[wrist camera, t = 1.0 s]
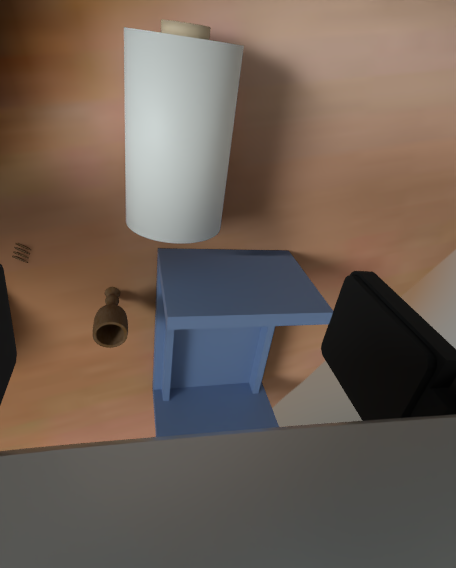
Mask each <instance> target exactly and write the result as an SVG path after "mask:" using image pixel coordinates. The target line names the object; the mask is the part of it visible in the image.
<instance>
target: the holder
mask: <svg viewBox="0 0 456 568" xmlns="http://www.w3.org/2000/svg"><path fill="white" fill-rule="evenodd" d="M332 314H333V310H332V309H331V307H330V306H329V305H328V303H327V302H326V301H325V299H324V298H323V297H322V295H321V294H320V293H319V291H318V290H317V289H316V287H315V286H314V284H313V283H312V282H311V280H310V279H309V278H308V276H307V275H306V274H305V272H304V271H303V270H302V268H301V267H300V265H299V264H298V263H297V261H296V260H295V259H294V257H293V256H292V255H291V253H290V252H289V251H282V250H223V249H163V248H158V260H157V287H156V313H155V339H154V366H153V402H154V416H155V430H156V437H163V436H175V435H186V434H198V433H211V432H223V431H236V430H248V429H261V428H274V427H279V426H278V423H277V420H276V418H275V415H274V413H273V410H272V407H271V405H270V402H269V400H268V397H267V394H266V392H265V389H264V387H263V384H262V378H263V374H264V370H265V366H266V362H267V358H268V354H269V350H270V346H271V342H272V338H273V334H274V329H275V326H291V325H319V324H329V322H330V319H331V317H332Z"/></svg>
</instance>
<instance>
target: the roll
mask: <svg viewBox="0 0 456 568" xmlns="http://www.w3.org/2000/svg"><path fill="white" fill-rule="evenodd" d="M209 38H210V27H207V26H202V25H197V24H191V23H185V22H178V21H171V20H161V33H160V32H153V31H146V30H140V29H133V28H125V27H124V80H125V175H126V224H127V226H128V227H129V228H130V229H131V230H132V231H133V232H135V233H137V234H138V235H141V236H143V237H145V238H148V239H152V240H156V241H160V242H167V243H195V242H201V241H205V240H208V239H210V238H212V237H214V236H216V235H217V234H218V233H219V231H220V227H221V219H222V211H223V203H224V196H225V188H226V180H227V172H228V165H229V157H230V149H231V141H232V134H233V126H234V118H235V111H236V103H237V95H238V87H239V80H240V72H241V64H242V56H243V49H244V46H242V45H236V44H230V43H224V42H218V41H211V40H209Z"/></svg>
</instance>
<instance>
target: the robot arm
mask: <svg viewBox="0 0 456 568" xmlns="http://www.w3.org/2000/svg"><path fill="white" fill-rule="evenodd" d="M321 350H322V355H323V357H324V358H325V360H326V362H327V363H328V365H329V366H330V368H331V370H332V371H333V373H334V375H335V376H336V378H337V379H338V381H339V383H340V385H341V386H342V388H343V389H344V391H345V393H346V394H347V396H348V398H349V399H350V401H351V403H352V404H353V406H354V407H355V409H356V411H357V412H358V414H359V416H360V417H361V419H362V420H363V421H353V422H339V423H325V424H313V425H300V426H288V427H274V428H261V429H248V430H236V431H223V432H211V433H198V434H186V435H175V436H163V437H151V438H139V439H127V440H115V441H103V442H91V443H80V444H69V445H58V446H47V447H36V448H26V449H16V450H7V451H0V568H456V349H455V348H454V347H453V346H451V345H450V344H449V343H448V342H447V341H446V340H445V339H444V338H443V337H442V336H441V335H440V334H439V333H438V332H437V331H436V330H434V329H433V328H432V327H431V326H430V325H429V324H428V323H427V322H426V321H425V320H424V319H423V318H422V317H421V316H419V314H418V313H416V312H415V311H414V310H413V309H412V308H411V307H410V306H409V305H408V304H407V303H406V302H405V301H404V300H403V299H402V298H401V297H400V296H398V295H397V294H396V293H395V292H394V291H393V290H392V289H391V288H390V287H389V286H388V285H387V284H386V283H385V282H384V281H383V280H382V279H380V278H379V277H378V276H377V275H376V274H375V273H374V272H367V271H354V272H352V273H351V274H350V276H347V277H346V278H345V280H344V283H343V285H342V288H341V291H340V294H339V297H338V300H337V302H336V305H335V308H334V311H333V314H332V317H331V319H330V322H329V325H328V328H327V331H326V334H325V336H324V339H323V342H322V346H321ZM16 356H17V352H16V344H15V338H14V332H13V326H12V319H11V313H10V307H9V300H8V294H7V288H6V282H5V275H4V270H3V267H2V265H1V264H0V404H1V402H2V399H3V396H4V393H5V391H6V388H7V385H8V383H9V380H10V377H11V374H12V372H13V369H14V366H15V363H16Z"/></svg>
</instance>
